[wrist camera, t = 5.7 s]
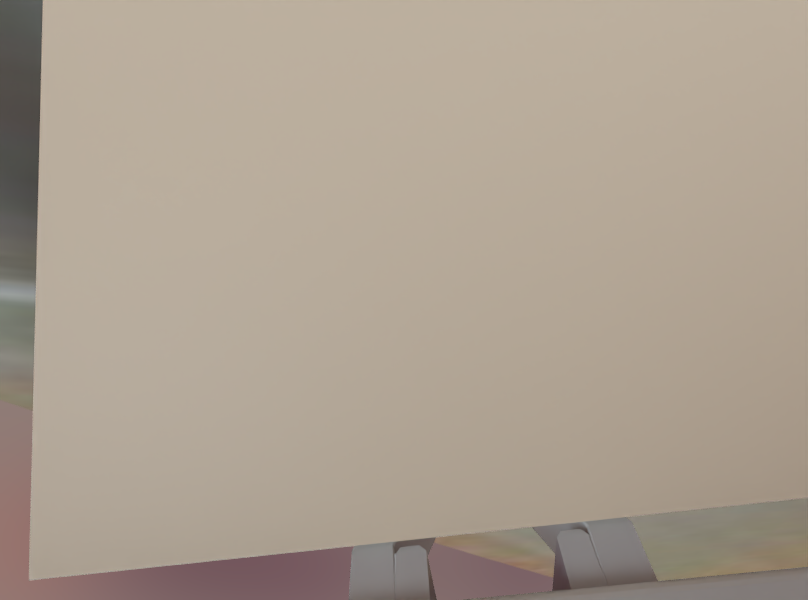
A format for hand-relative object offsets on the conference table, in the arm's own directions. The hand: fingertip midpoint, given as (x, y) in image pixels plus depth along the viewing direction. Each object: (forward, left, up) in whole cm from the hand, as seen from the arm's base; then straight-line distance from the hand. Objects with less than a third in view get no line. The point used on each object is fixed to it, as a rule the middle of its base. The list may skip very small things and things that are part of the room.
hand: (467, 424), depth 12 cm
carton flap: (0, +9, -5) cm, 10 cm away
